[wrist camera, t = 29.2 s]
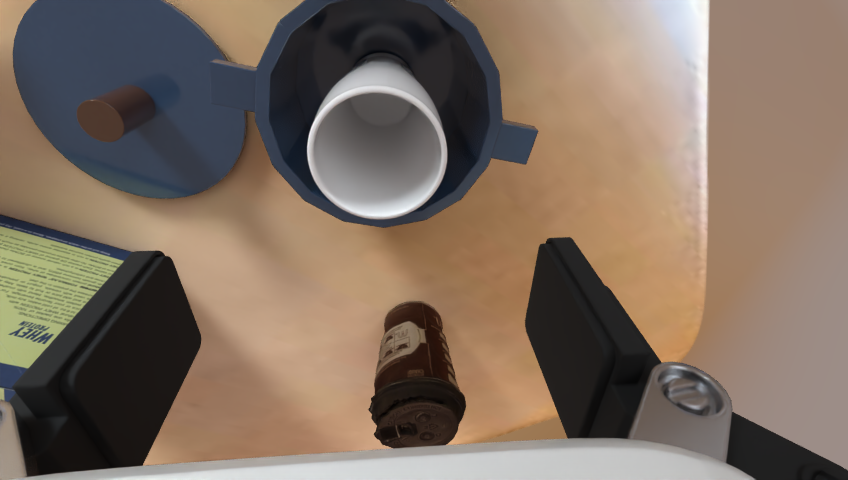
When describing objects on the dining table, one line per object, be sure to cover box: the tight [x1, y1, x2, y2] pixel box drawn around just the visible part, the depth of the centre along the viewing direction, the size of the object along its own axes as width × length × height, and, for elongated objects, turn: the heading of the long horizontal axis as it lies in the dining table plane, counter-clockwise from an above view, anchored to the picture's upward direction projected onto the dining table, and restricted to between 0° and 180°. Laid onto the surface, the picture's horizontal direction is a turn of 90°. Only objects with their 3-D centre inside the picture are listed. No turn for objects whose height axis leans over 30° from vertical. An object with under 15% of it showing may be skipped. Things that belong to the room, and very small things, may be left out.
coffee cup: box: [368, 302, 466, 448], centre depth 41 cm, size 9×8×13 cm
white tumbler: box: [307, 53, 447, 219], centre depth 26 cm, size 7×7×15 cm
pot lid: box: [13, 0, 247, 199], centre depth 30 cm, size 16×16×6 cm
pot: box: [209, 0, 538, 228], centre depth 29 cm, size 15×20×9 cm
